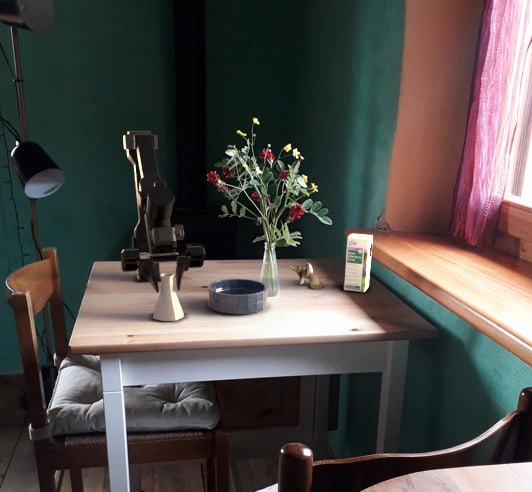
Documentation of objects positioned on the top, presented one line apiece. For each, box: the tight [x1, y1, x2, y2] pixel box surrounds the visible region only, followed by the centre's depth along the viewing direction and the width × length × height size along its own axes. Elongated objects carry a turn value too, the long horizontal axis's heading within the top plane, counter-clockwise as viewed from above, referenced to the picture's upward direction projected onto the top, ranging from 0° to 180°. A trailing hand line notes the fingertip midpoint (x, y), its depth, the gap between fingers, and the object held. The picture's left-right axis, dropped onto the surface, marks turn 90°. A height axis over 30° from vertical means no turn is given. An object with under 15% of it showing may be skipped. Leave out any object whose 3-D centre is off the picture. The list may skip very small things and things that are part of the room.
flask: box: [152, 272, 185, 322], centre depth 140 cm, size 7×7×10 cm
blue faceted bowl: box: [207, 278, 269, 316], centre depth 149 cm, size 14×14×5 cm
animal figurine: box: [289, 262, 323, 290], centre depth 168 cm, size 8×7×9 cm
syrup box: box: [343, 233, 374, 293], centre depth 163 cm, size 6×6×14 cm
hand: (168, 291), depth 138 cm, fingers open, 4 cm apart
